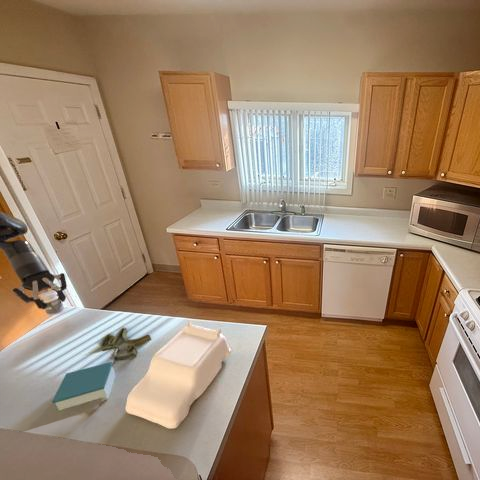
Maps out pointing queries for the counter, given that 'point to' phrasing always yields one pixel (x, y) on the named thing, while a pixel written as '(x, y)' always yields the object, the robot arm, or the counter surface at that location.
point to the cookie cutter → (129, 348)
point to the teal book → (85, 386)
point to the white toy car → (178, 375)
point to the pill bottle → (51, 302)
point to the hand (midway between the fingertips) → (54, 304)
